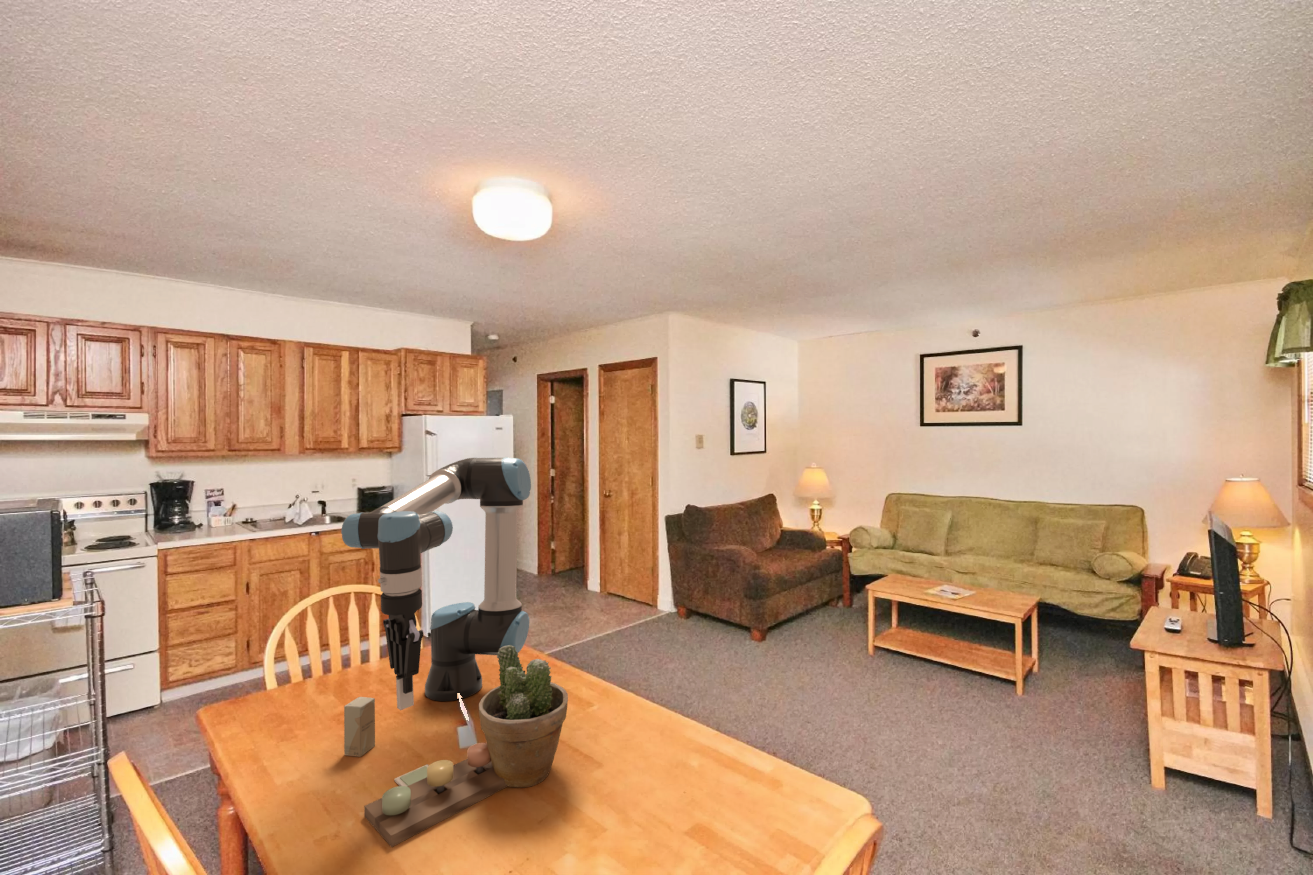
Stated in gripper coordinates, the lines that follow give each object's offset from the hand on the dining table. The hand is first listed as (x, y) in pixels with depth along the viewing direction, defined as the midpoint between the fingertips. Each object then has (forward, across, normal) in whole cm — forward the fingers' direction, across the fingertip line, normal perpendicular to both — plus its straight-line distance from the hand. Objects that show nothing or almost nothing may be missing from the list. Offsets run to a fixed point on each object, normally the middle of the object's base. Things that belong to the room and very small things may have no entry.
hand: (405, 706), depth 117 cm
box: (+18, -22, -1) cm, 29 cm away
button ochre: (+15, +8, +3) cm, 17 cm away
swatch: (+17, -1, +3) cm, 17 cm away
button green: (+16, +8, -6) cm, 19 cm away
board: (+17, +8, +2) cm, 19 cm away
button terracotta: (+15, +8, +11) cm, 21 cm away
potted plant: (+17, +13, +19) cm, 29 cm away
